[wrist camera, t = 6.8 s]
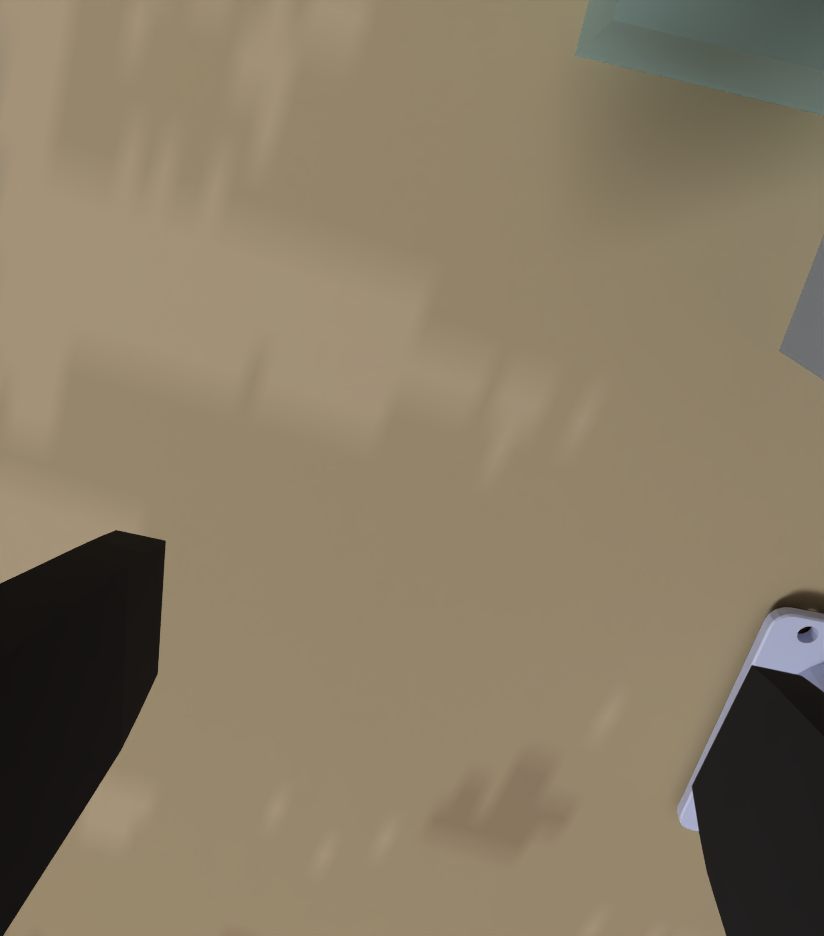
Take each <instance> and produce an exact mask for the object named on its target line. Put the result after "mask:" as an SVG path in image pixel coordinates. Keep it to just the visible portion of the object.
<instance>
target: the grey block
mask: <svg viewBox="0 0 824 936" xmlns="http://www.w3.org/2000/svg"><path fill="white" fill-rule="evenodd" d="M779 351H780V352H781V353H783V354H785V355H786V356H788V357H789V358H791V359H792V360H794V361H795V362H797V363H798V364H800V365H801V366H803V367H804V368H806V369H808V370H809V371H811V372H812V373H814V374H815V375H817V376H818V377H820V378H821V379H823V380H824V236H823V238H822V241H821V244H820V246H819V249H818V251H817V254H816V257H815V259H814V262H813V264H812V267H811V270H810V272H809V275H808V277H807V280H806V282H805V285H804V288H803V290H802V293H801V295H800V298H799V301H798V303H797V306H796V308H795V311H794V313H793V316H792V319H791V321H790V324H789V326H788V329H787V332H786V334H785V337H784V339H783V342H782V344H781V347H780V350H779Z"/></svg>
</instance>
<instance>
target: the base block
mask: <svg viewBox="0 0 824 936" xmlns="http://www.w3.org/2000/svg"><path fill="white" fill-rule="evenodd" d="M575 56H579V57H583V58H587V59H591V60H595V61H600V62H604V63H608V64H612V65H616V66H620V67H625V68H629V69H633V70H637V71H641V72H645V73H649V74H654V75H658V76H662V77H666V78H670V79H674V80H679V81H683V82H687V83H691V84H695V85H699V86H704V87H708V88H712V89H716V90H720V91H724V92H729V93H733V94H737V95H741V96H745V97H749V98H754V99H758V100H762V101H766V102H770V103H774V104H778V105H783V106H787V107H791V108H795V109H799V110H803V111H808V112H812V113H816V114H820V115H824V0H590V1H589V5H588V8H587V12H586V16H585V19H584V23H583V27H582V30H581V34H580V38H579V41H578V45H577V49H576V53H575Z"/></svg>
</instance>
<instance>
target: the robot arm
mask: <svg viewBox="0 0 824 936" xmlns="http://www.w3.org/2000/svg"><path fill="white" fill-rule="evenodd" d="M165 543H166V541H164V540H160V539H155V538H150V537H146V536H141V535H136V534H131V533H127V532H122V531H117V530H116V531H113V532H111V533H108V534H106V535H103V536H101V537H99V538H96V539H94V540H92V541H90V542H87V543H85V544H83V545H81V546H79V547H77V548H74V549H72V550H70V551H68V552H66V553H64V554H62V555H60V556H58V557H56V558H53V559H51V560H49V561H47V562H45V563H43V564H41V565H39V566H37V567H35V568H33V569H30V570H28V571H26V572H24V573H22V574H20V575H18V576H16V577H13V578H11V579H9V580H7V581H5V582H3V583H1V584H0V936H3V935H4V933H5V932H6V930H7V929H8V927H9V926H10V924H11V922H12V921H13V919H14V918H15V916H16V915H17V913H18V912H19V910H20V908H21V907H22V905H23V904H24V902H25V901H26V899H27V897H28V896H29V894H30V893H31V891H32V890H33V888H34V886H35V885H36V883H37V882H38V880H39V879H40V877H41V876H42V874H43V872H44V871H45V869H46V868H47V866H48V865H49V863H50V861H51V860H52V858H53V857H54V855H55V854H56V852H57V850H58V849H59V847H60V846H61V844H62V843H63V841H64V840H65V838H66V836H67V835H68V833H69V832H70V830H71V829H72V827H73V825H74V824H75V822H76V821H77V819H78V818H79V816H80V815H81V813H82V811H83V810H84V808H85V807H86V805H87V803H88V802H89V800H90V799H91V797H92V796H93V794H94V792H95V791H96V789H97V788H98V786H99V784H100V783H101V781H102V780H103V778H104V776H105V775H106V773H107V772H108V770H109V769H110V767H111V765H112V764H113V762H114V760H115V759H116V757H117V756H118V754H119V752H120V751H121V749H122V747H123V745H124V743H125V741H126V739H127V737H128V735H129V733H130V731H131V729H132V727H133V725H134V723H135V721H136V719H137V717H138V715H139V713H140V710H141V708H142V706H143V704H144V702H145V700H146V698H147V695H148V693H149V691H150V689H151V687H152V685H153V683H154V680H155V678H156V676H157V674H158V659H159V643H160V626H161V609H162V593H163V576H164V559H165ZM808 626H812V627H811V629H810V630H809V631H808V632H805V633H803V634H797V633H798V632H799V631H800V630H801V629H802V628H804V627H808ZM677 813H678V816H679V820H680V822H681V824H682V825H683V826H684V827H685V828H688V829H690V830H694V831H699V834H700V839H701V844H702V849H703V854H704V859H705V864H706V869H707V873H708V877H709V880H710V884H711V887H712V890H713V894H714V897H715V900H716V904H717V907H718V910H719V913H720V916H721V920H722V923H723V926H724V929H725V933H726V936H824V614H822V613H817V612H812V611H807V610H802V609H796V608H791V607H782V608H779V609H775V610H774V611H772V612H771V613H769V614H768V616H767V617H766V618H765V620H764V622H763V624H762V626H761V628H760V631H759V633H758V635H757V637H756V639H755V641H754V644H753V646H752V648H751V650H750V652H749V654H748V656H747V659H746V661H745V663H744V665H743V667H742V669H741V672H740V674H739V676H738V678H737V680H736V682H735V684H734V687H733V689H732V691H731V693H730V695H729V697H728V700H727V702H726V704H725V706H724V708H723V710H722V712H721V715H720V717H719V719H718V721H717V723H716V725H715V728H714V730H713V732H712V734H711V736H710V738H709V740H708V743H707V745H706V747H705V749H704V751H703V753H702V756H701V758H700V760H699V762H698V764H697V766H696V768H695V771H694V773H693V775H692V777H691V779H690V781H689V784H688V786H687V788H686V790H685V792H684V794H683V796H682V799H681V801H680V803H679V805H678V808H677Z"/></svg>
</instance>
